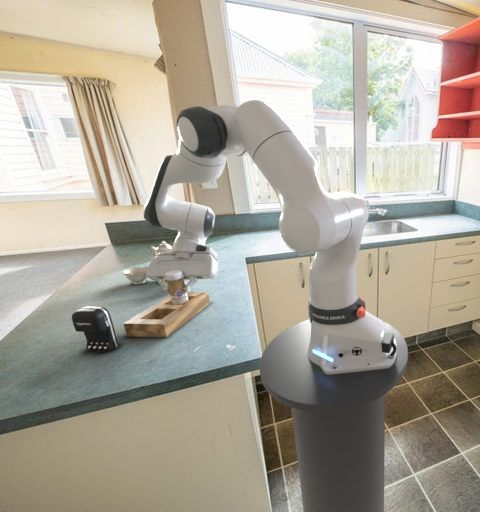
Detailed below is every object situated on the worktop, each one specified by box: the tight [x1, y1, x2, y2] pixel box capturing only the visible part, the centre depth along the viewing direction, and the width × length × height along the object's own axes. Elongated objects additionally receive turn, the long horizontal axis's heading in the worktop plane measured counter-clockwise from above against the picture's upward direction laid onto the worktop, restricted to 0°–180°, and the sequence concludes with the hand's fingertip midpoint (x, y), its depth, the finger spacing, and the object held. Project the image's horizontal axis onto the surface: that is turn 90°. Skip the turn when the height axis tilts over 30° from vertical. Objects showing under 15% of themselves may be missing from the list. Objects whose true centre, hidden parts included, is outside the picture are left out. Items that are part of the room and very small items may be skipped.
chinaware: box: [122, 240, 174, 288], centre depth 114 cm, size 28×17×17 cm, turn 76°
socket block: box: [123, 292, 211, 338], centre depth 89 cm, size 11×20×4 cm, turn 178°
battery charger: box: [71, 306, 120, 353], centre depth 73 cm, size 7×4×11 cm, turn 87°
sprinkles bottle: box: [165, 270, 188, 305], centre depth 92 cm, size 5×5×14 cm
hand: (176, 291), depth 91 cm, fingers closed on sprinkles bottle, 4 cm apart
